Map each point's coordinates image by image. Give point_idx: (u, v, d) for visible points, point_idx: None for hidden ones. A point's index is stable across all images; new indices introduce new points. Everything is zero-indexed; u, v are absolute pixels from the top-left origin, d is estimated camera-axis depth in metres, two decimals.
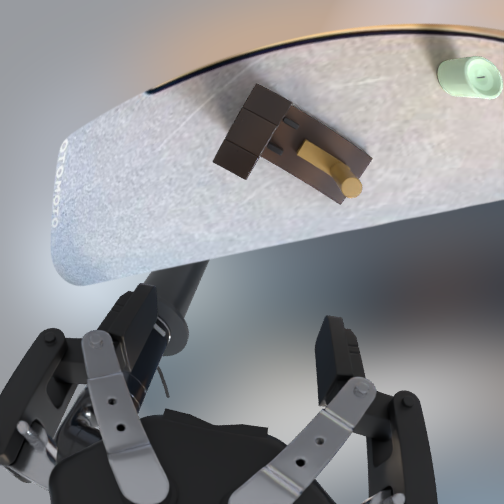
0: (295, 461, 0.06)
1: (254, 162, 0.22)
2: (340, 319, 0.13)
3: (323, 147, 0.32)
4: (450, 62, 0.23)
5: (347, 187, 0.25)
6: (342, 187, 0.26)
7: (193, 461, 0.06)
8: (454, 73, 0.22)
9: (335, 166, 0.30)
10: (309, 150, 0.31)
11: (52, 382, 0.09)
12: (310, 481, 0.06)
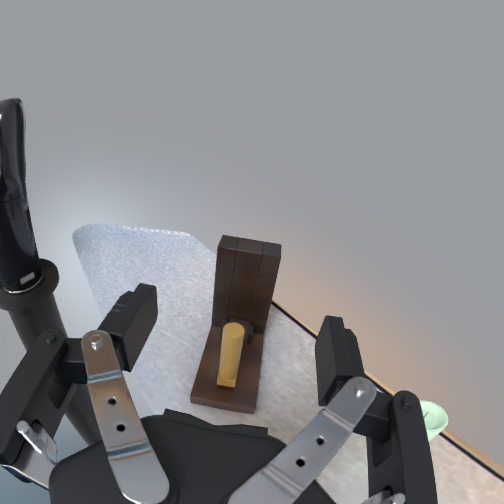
0: (295, 461, 0.06)
1: (232, 248, 0.33)
2: (340, 319, 0.13)
3: (240, 365, 0.33)
4: None
5: (232, 326, 0.27)
6: (230, 323, 0.28)
7: (193, 461, 0.06)
8: None
9: None
10: None
11: (52, 382, 0.09)
12: (310, 481, 0.06)
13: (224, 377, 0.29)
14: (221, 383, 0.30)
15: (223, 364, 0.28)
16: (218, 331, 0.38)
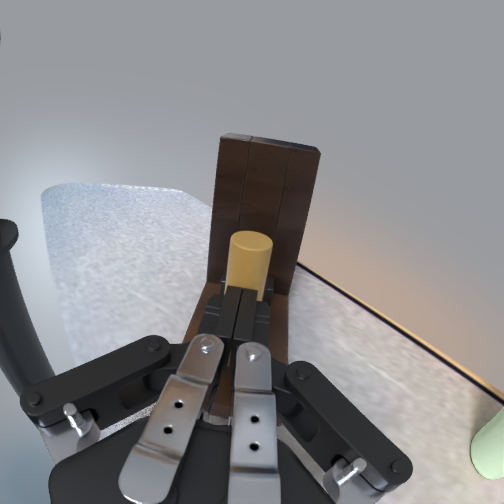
0: (249, 448, 0.06)
1: (243, 138, 0.19)
2: (255, 291, 0.14)
3: None
4: None
5: (248, 235, 0.14)
6: (244, 231, 0.15)
7: (193, 461, 0.06)
8: None
9: None
10: None
11: (139, 382, 0.10)
12: (276, 457, 0.06)
13: None
14: None
15: None
16: (217, 289, 0.24)
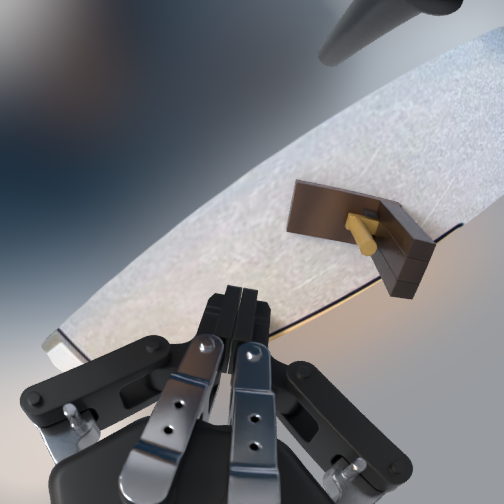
0: (249, 448, 0.06)
1: (409, 253, 0.27)
2: (255, 291, 0.14)
3: (330, 224, 0.39)
4: None
5: (372, 247, 0.31)
6: (376, 245, 0.31)
7: (193, 461, 0.06)
8: None
9: None
10: None
11: (139, 382, 0.10)
12: (276, 457, 0.06)
13: (349, 222, 0.37)
14: (348, 217, 0.38)
15: (354, 226, 0.35)
16: (371, 206, 0.37)
